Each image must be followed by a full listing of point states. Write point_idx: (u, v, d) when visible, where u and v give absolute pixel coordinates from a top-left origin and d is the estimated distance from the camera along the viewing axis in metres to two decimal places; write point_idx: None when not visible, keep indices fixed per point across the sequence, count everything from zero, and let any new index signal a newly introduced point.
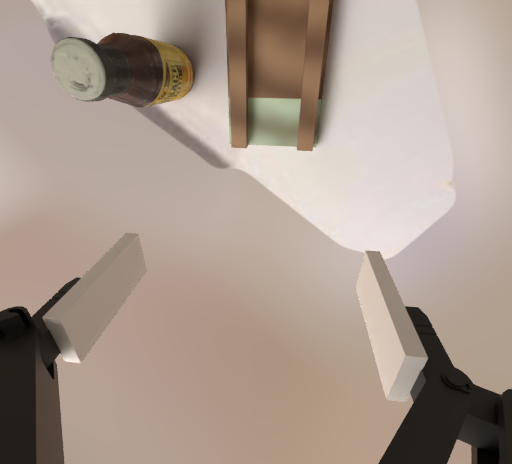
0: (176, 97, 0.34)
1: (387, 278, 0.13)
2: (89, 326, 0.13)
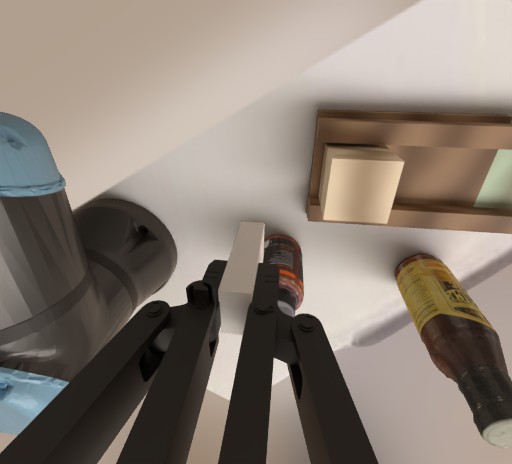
0: None
1: (257, 241, 0.16)
2: None
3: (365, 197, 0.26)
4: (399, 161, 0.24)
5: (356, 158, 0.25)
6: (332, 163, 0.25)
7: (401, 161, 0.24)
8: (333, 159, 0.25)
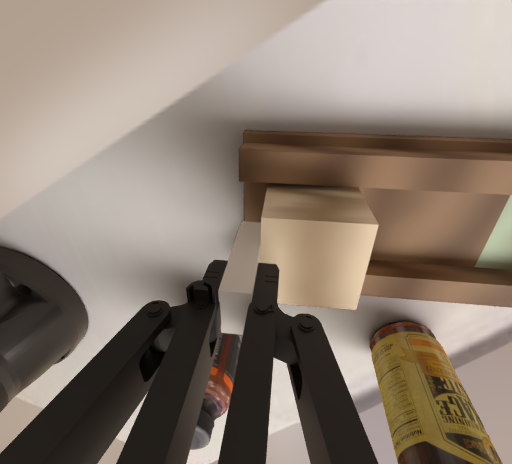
0: (458, 378, 0.23)
1: (257, 241, 0.16)
2: None
3: (320, 273, 0.16)
4: (370, 224, 0.15)
5: (301, 217, 0.15)
6: (262, 224, 0.15)
7: (373, 223, 0.15)
8: (263, 219, 0.15)
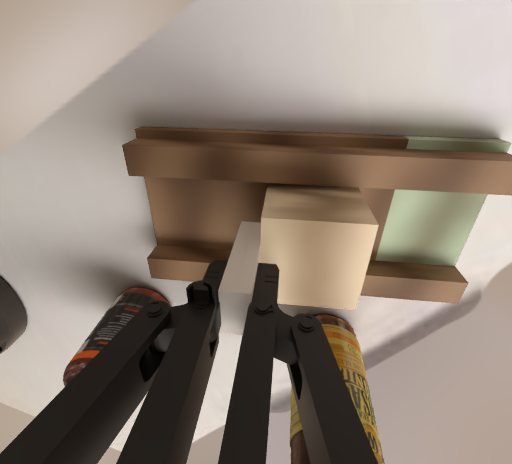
0: (362, 369, 0.23)
1: (257, 241, 0.16)
2: None
3: (320, 274, 0.16)
4: (371, 224, 0.15)
5: (301, 217, 0.15)
6: (262, 224, 0.15)
7: (373, 224, 0.15)
8: (263, 219, 0.15)
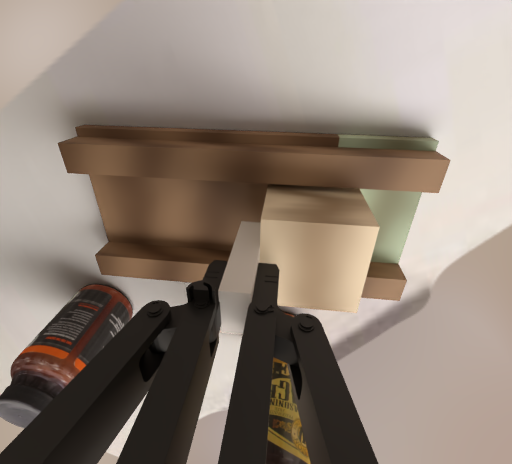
0: None
1: (257, 241, 0.16)
2: None
3: (320, 276, 0.16)
4: (371, 226, 0.14)
5: (300, 219, 0.15)
6: (262, 226, 0.15)
7: (374, 226, 0.14)
8: (262, 220, 0.15)
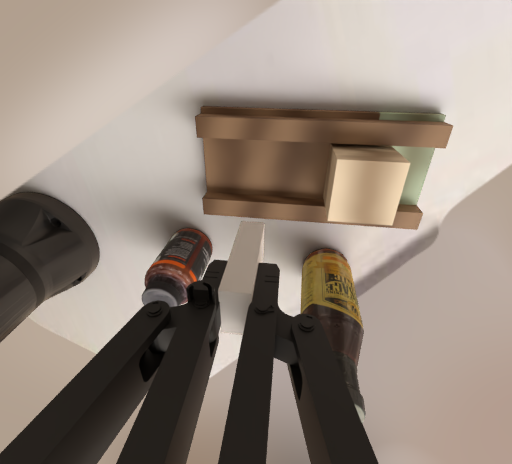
0: (351, 279, 0.33)
1: (257, 241, 0.16)
2: None
3: (370, 198, 0.26)
4: (405, 162, 0.24)
5: (361, 159, 0.25)
6: (337, 164, 0.25)
7: (407, 162, 0.24)
8: (338, 160, 0.25)
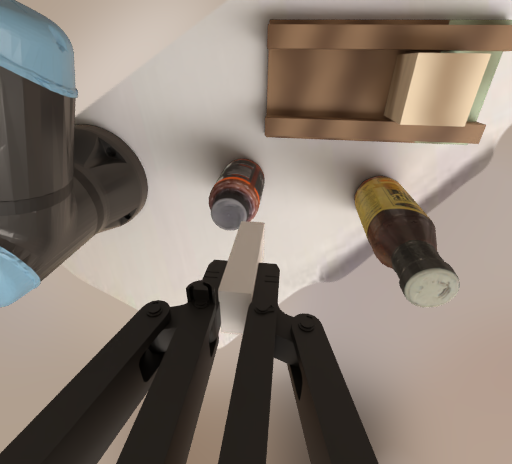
0: None
1: (257, 241, 0.16)
2: None
3: (446, 96, 0.26)
4: (486, 53, 0.25)
5: (442, 53, 0.25)
6: (417, 58, 0.25)
7: None
8: (419, 53, 0.25)
